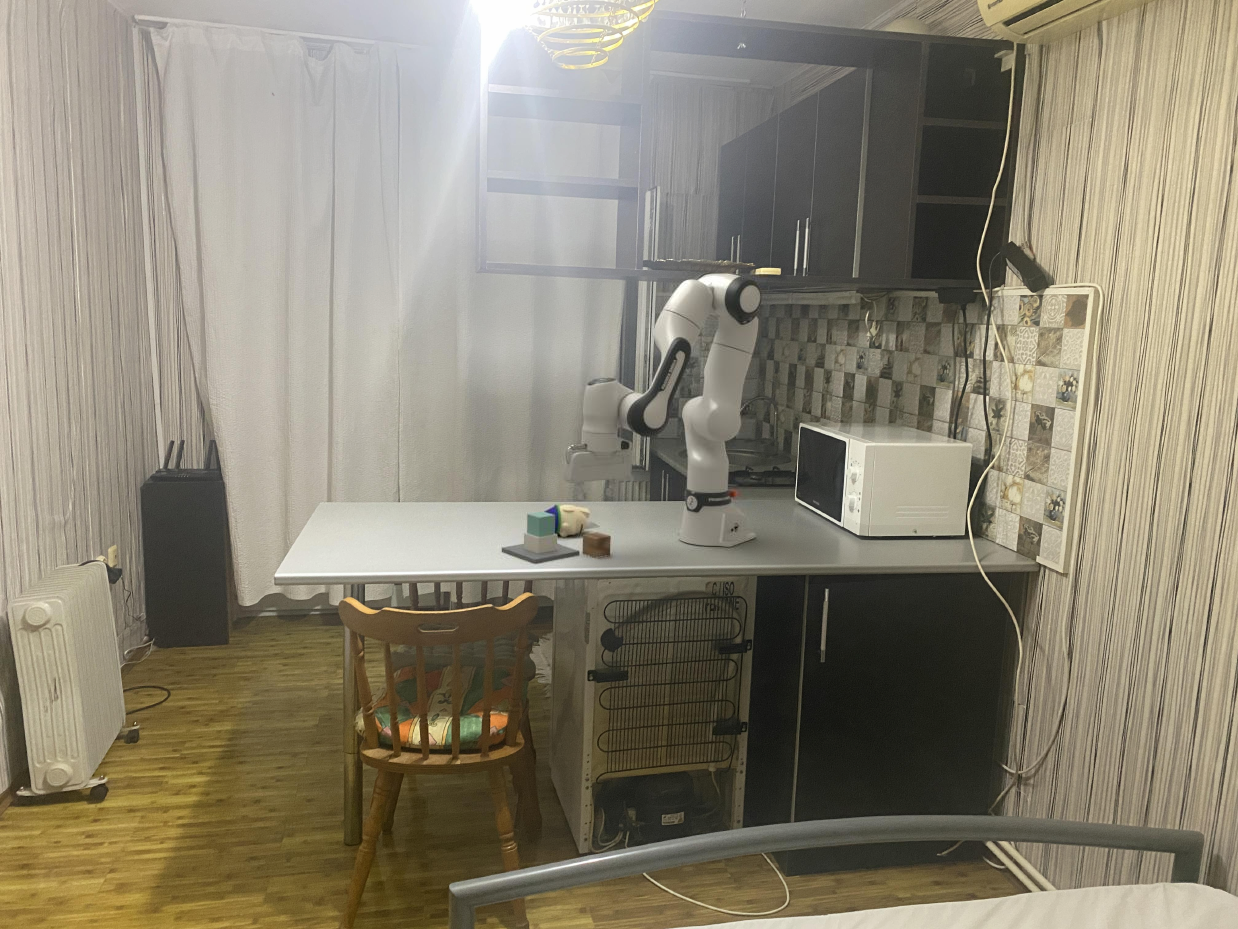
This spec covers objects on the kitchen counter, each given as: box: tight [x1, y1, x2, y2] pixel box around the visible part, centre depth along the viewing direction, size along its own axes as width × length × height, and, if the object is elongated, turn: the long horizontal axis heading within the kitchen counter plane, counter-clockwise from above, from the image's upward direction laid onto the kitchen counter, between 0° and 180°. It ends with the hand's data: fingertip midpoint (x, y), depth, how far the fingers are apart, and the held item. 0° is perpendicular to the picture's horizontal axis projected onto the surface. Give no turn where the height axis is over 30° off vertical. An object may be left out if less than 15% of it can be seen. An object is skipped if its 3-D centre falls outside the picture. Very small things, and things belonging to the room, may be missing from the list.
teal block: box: [526, 511, 555, 537], centre depth 232 cm, size 5×5×5 cm
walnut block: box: [582, 532, 612, 559], centre depth 234 cm, size 5×5×5 cm
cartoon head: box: [543, 504, 601, 538], centre depth 253 cm, size 9×10×20 cm
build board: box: [501, 532, 580, 564], centre depth 233 cm, size 14×14×5 cm
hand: (596, 497), depth 232 cm, fingers open, 8 cm apart
